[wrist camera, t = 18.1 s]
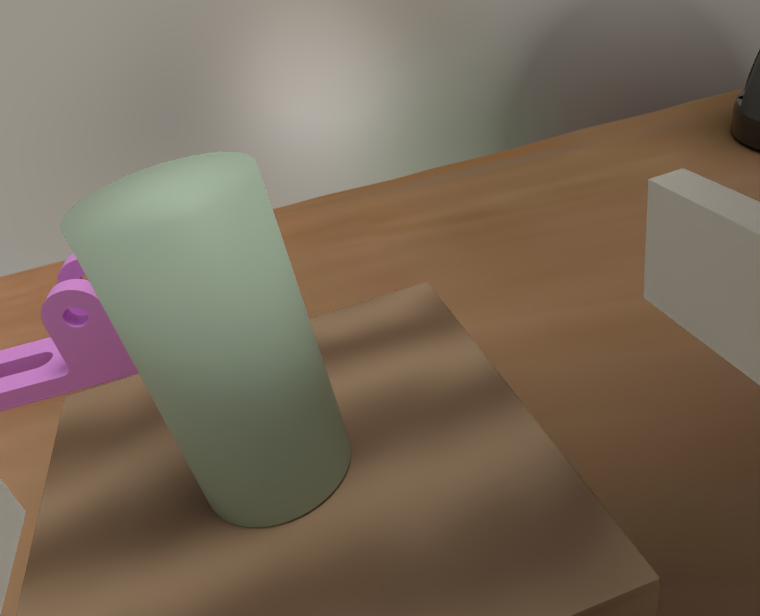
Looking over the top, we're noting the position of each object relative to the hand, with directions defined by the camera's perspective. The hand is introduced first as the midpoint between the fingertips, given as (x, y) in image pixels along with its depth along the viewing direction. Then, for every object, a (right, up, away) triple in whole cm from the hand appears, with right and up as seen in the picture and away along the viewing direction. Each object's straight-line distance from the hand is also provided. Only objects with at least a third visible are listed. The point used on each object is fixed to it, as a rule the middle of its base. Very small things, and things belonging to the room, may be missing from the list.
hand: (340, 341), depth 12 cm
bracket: (-21, -4, +31) cm, 38 cm away
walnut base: (-2, -9, +16) cm, 18 cm away
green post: (-3, -6, +14) cm, 15 cm away
